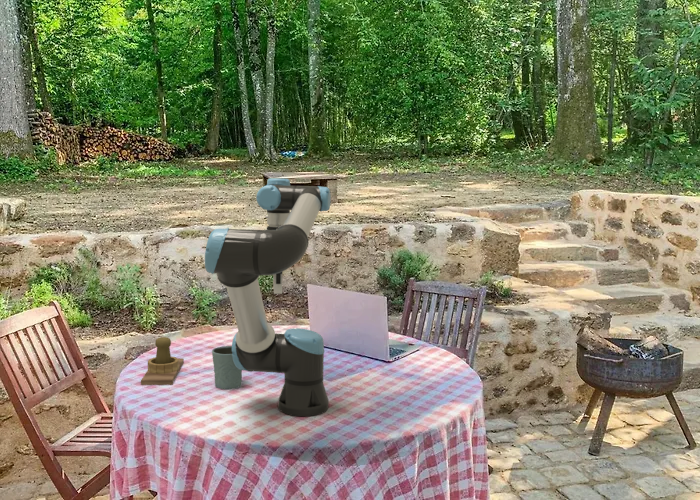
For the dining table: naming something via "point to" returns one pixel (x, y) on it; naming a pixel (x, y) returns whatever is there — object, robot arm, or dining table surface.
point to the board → (162, 372)
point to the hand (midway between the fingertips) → (277, 289)
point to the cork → (163, 350)
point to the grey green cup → (225, 369)
